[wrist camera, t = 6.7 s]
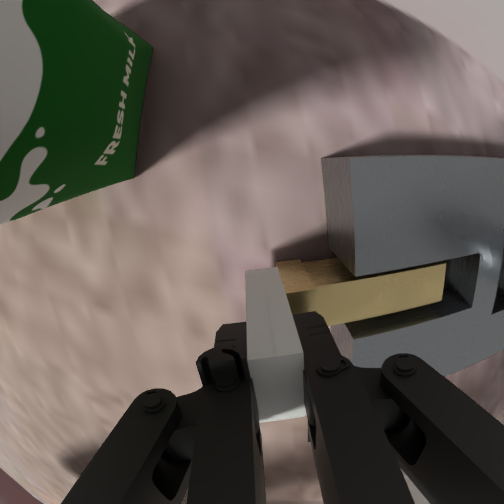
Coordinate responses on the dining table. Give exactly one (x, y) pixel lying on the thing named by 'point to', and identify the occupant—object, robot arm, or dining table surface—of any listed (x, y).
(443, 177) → the socket block
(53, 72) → the milk carton
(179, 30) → the dining table surface
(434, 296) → the bar
